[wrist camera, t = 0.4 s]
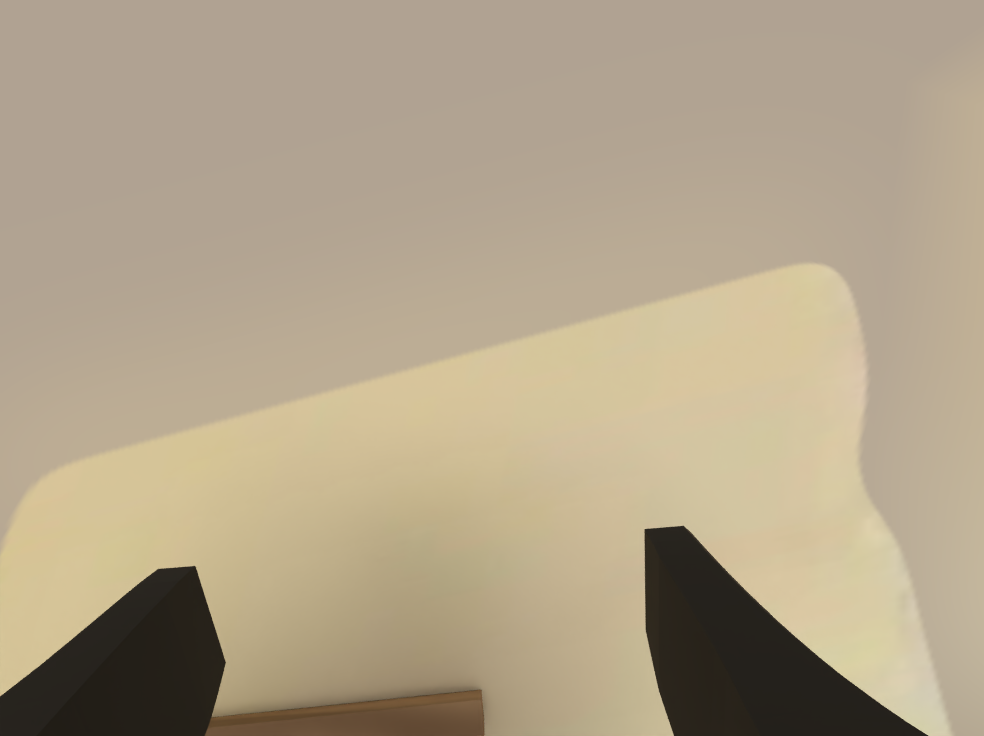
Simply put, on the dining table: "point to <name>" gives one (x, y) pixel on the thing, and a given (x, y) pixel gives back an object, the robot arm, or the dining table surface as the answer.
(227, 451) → the dining table surface
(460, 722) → the cradle
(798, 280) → the dining table surface
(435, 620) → the dining table surface
